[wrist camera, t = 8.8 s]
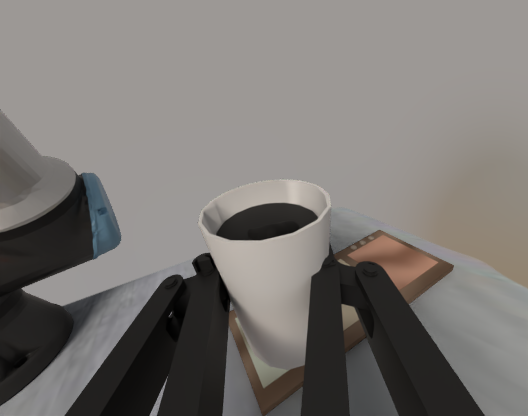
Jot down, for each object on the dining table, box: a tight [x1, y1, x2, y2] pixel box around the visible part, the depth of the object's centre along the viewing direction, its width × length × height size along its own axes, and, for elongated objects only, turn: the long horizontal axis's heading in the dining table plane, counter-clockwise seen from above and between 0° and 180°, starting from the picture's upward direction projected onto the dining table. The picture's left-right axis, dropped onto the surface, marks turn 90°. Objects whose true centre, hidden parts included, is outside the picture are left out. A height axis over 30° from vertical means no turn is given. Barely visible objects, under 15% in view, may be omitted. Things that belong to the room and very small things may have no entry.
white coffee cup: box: [198, 179, 331, 370], centre depth 13 cm, size 7×7×10 cm
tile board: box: [229, 230, 454, 416], centre depth 30 cm, size 12×32×1 cm, turn 117°
